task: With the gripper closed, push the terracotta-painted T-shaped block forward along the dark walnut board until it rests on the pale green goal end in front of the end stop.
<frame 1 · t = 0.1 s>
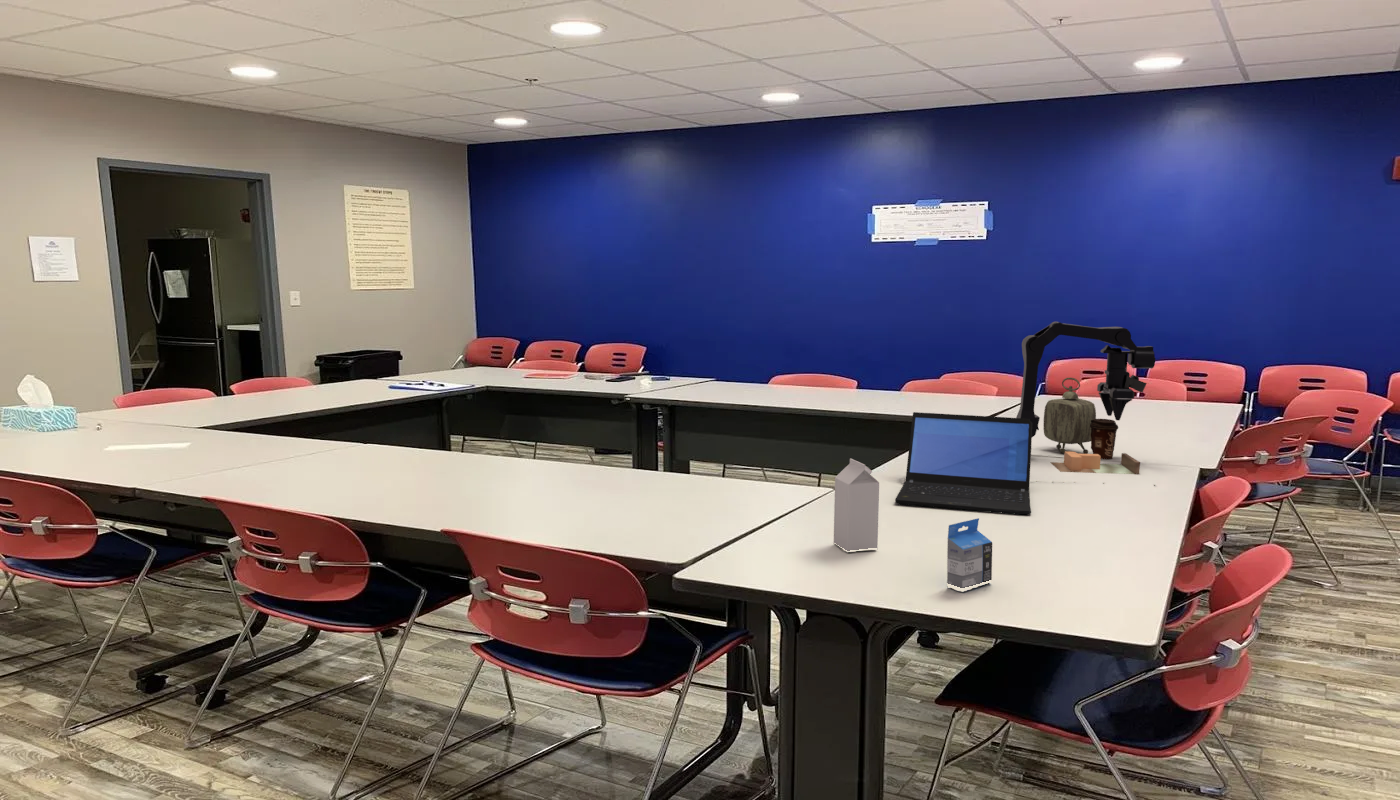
hand: (1113, 418, 292), 15 cm above the table, tool pointing down, fingers open, 9 cm apart
tee block: (1072, 467, 285), point 1 cm above the table, touching board
board: (1093, 471, 284), on the table
label tape box: (968, 587, 179), on the table
coffee cup: (1101, 461, 300), on the table
laptop: (965, 496, 254), on the table
tabletop clock: (1066, 453, 313), on the table
milk carton: (855, 548, 204), on the table
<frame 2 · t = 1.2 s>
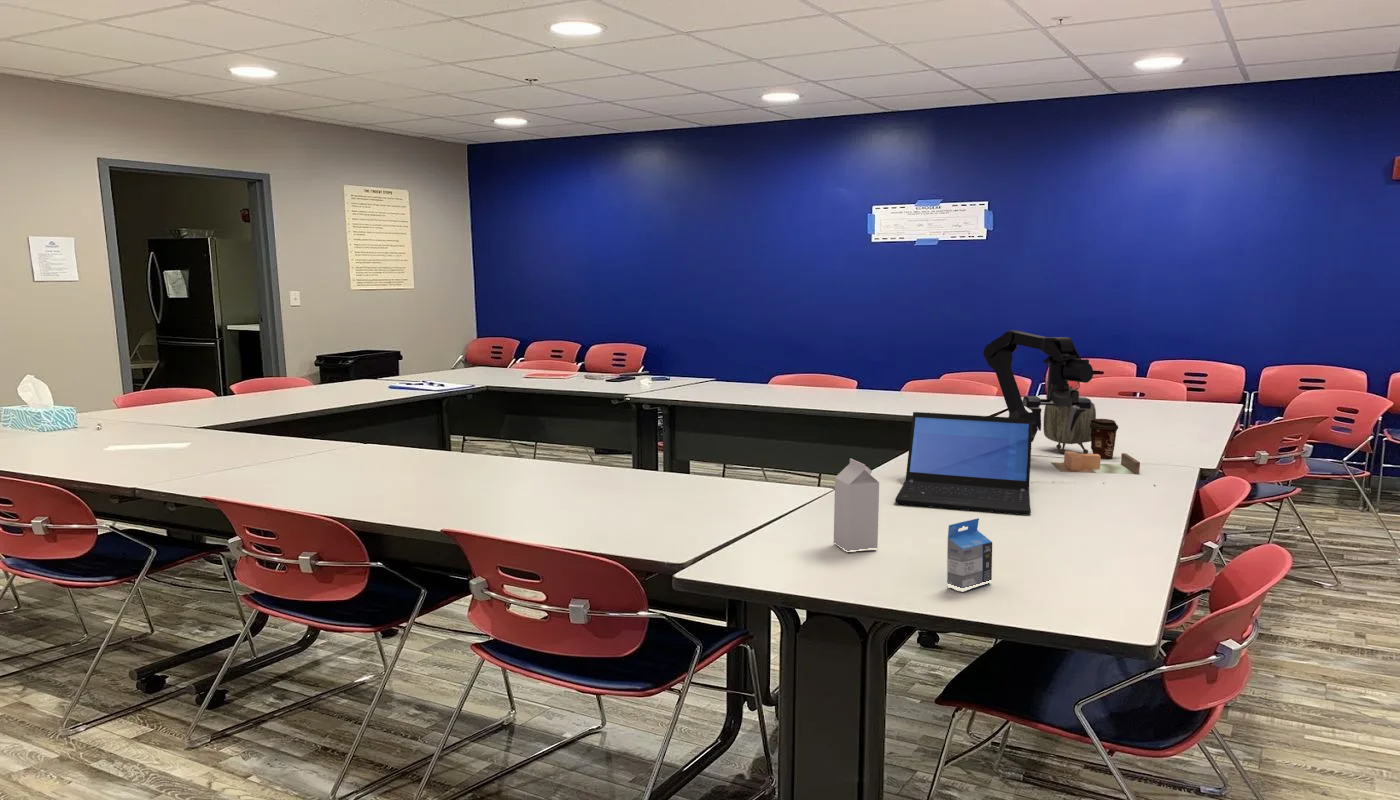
hand: (1055, 430, 284), 12 cm above the table, tool pointing down, fingers open, 9 cm apart
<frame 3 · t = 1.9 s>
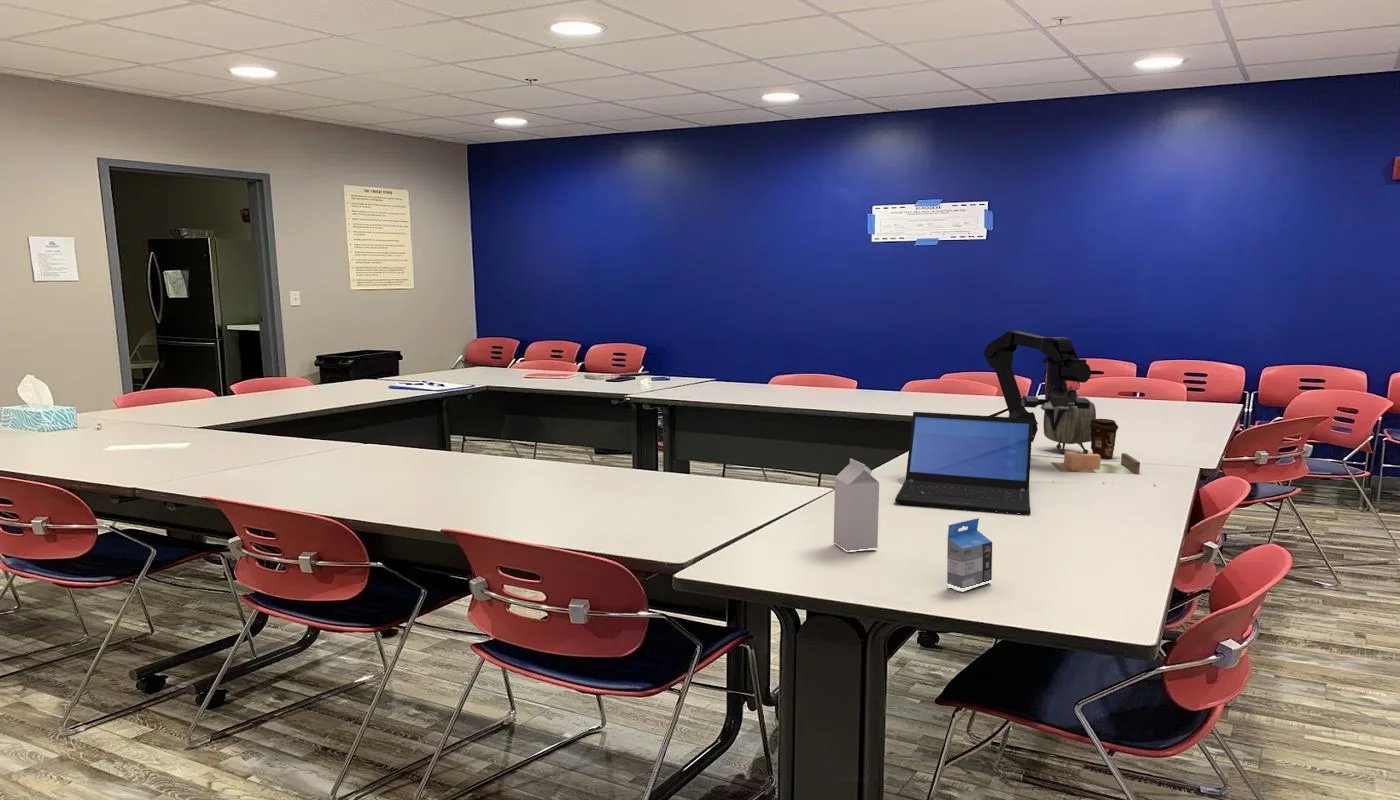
hand: (1053, 430, 284), 12 cm above the table, tool pointing down, fingers closed
nothing on the table moved.
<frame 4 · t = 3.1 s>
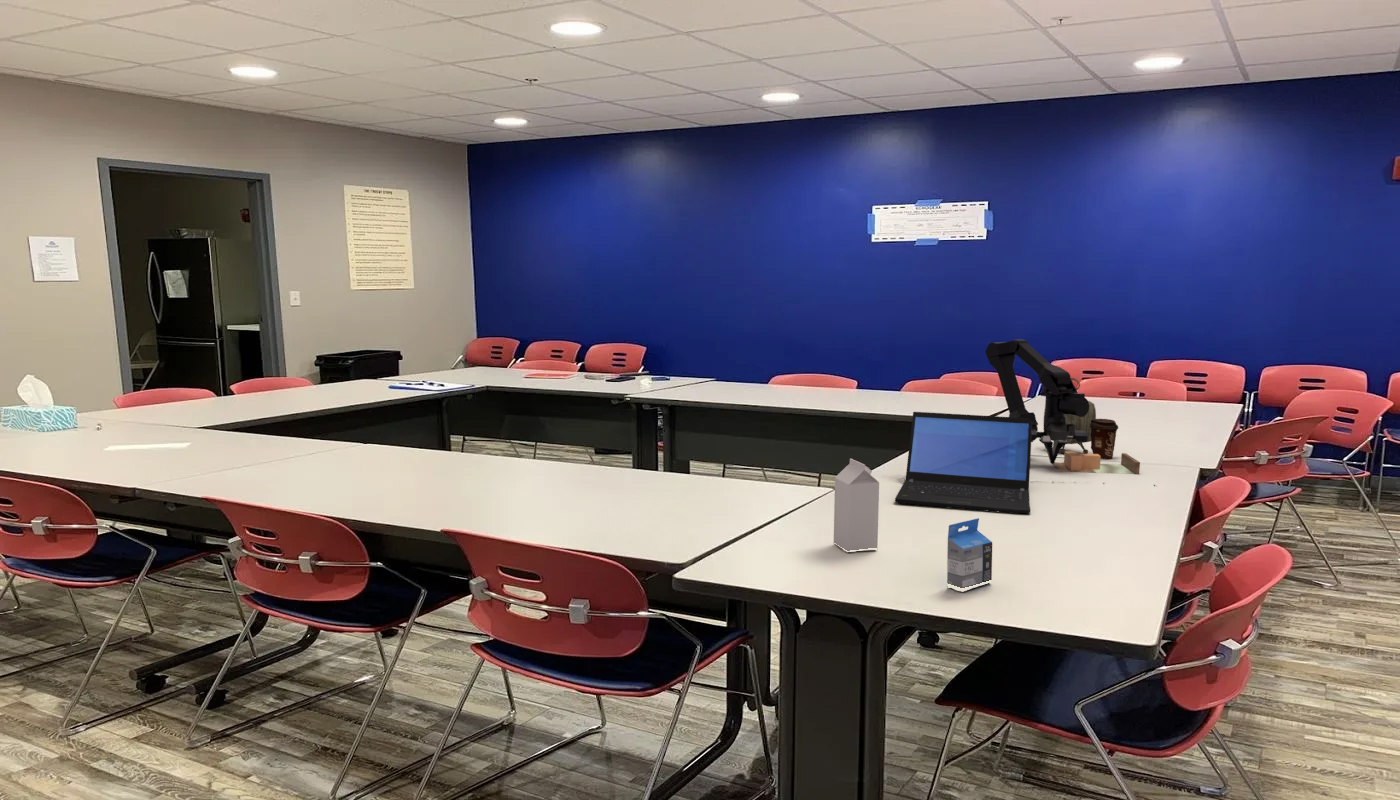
hand: (1052, 463, 285), 2 cm above the table, tool pointing down, fingers closed
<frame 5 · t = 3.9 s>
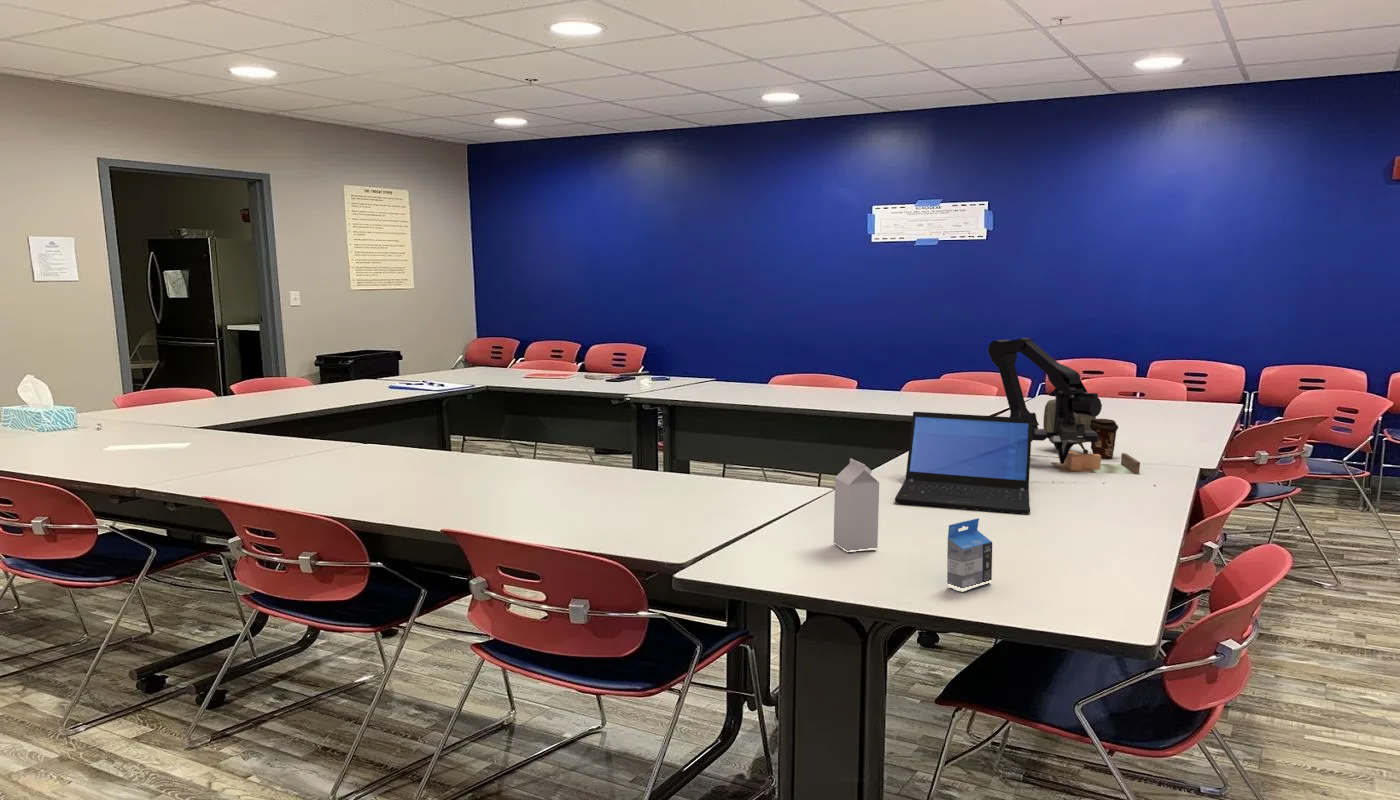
hand: (1061, 463, 285), 2 cm above the table, tool pointing down, fingers closed
tee block: (1072, 467, 284), point 1 cm above the table, touching gripper
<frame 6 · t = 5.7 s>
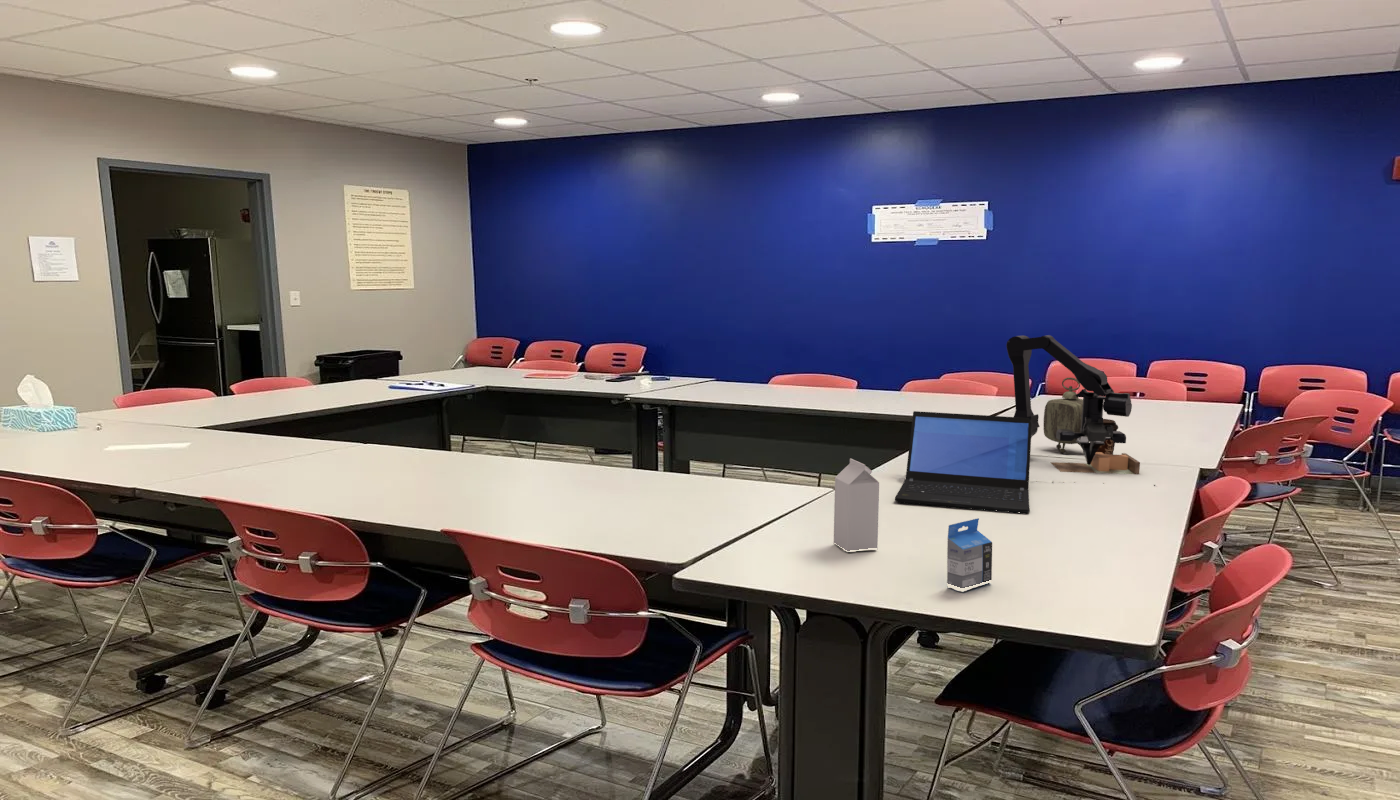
hand: (1088, 464, 284), 2 cm above the table, tool pointing down, fingers closed
tee block: (1099, 468, 284), point 1 cm above the table, touching board, gripper
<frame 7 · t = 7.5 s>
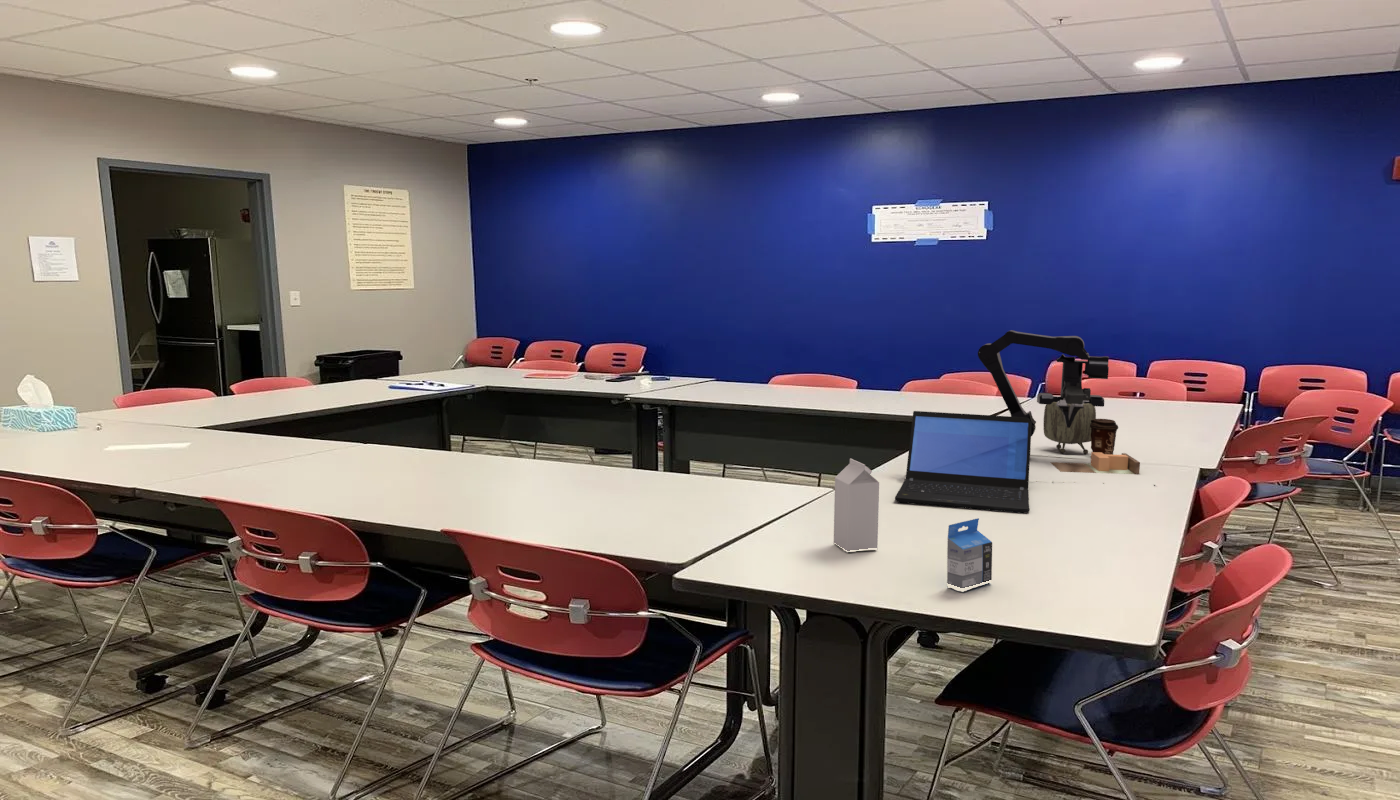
hand: (1068, 427, 291), 12 cm above the table, tool pointing down, fingers closed
tee block: (1099, 468, 284), point 1 cm above the table, touching board
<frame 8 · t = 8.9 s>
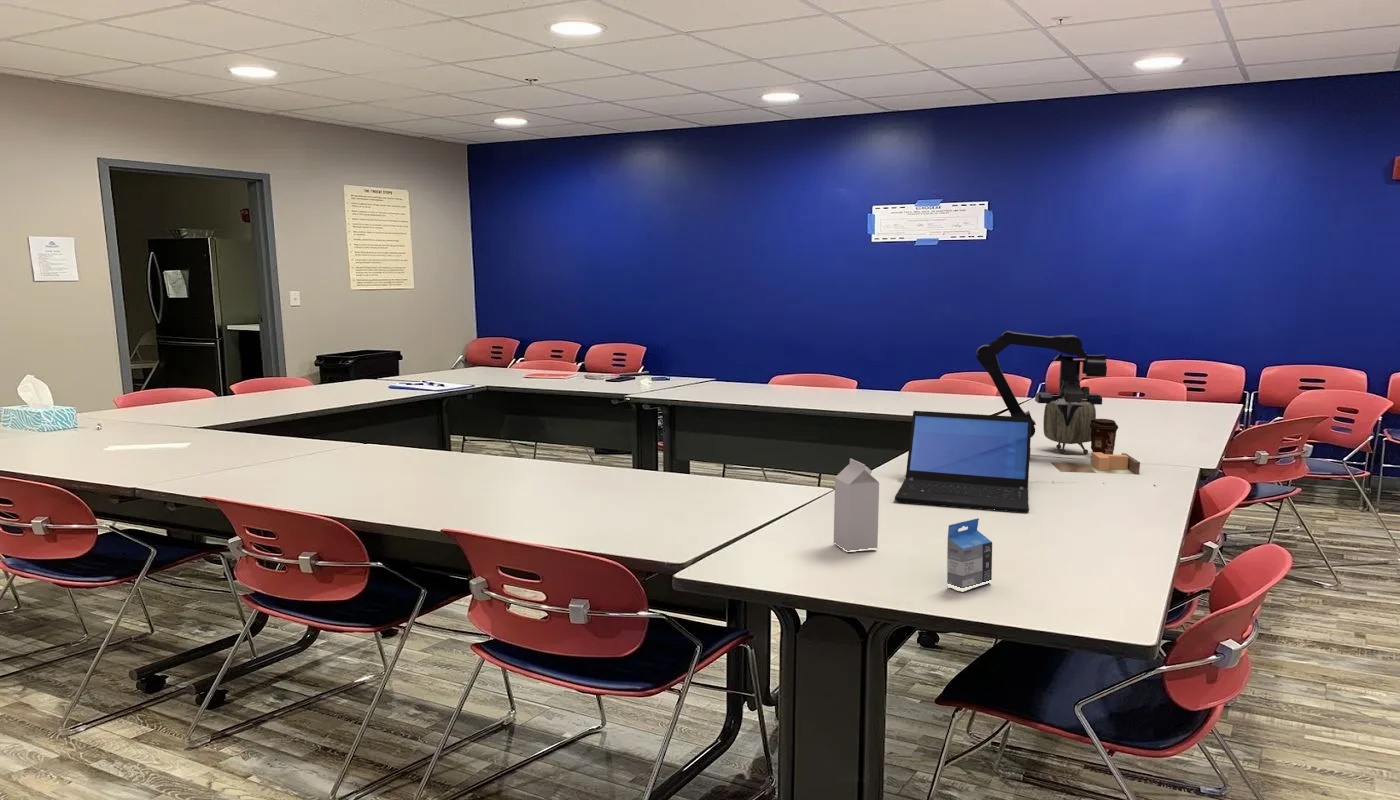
hand: (1066, 426, 293), 12 cm above the table, tool pointing down, fingers closed
at the end: tee block 0.7 cm from the target spot, point 1.0 cm above the table; tee block tilted 0°; the gripper is holding nothing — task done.
